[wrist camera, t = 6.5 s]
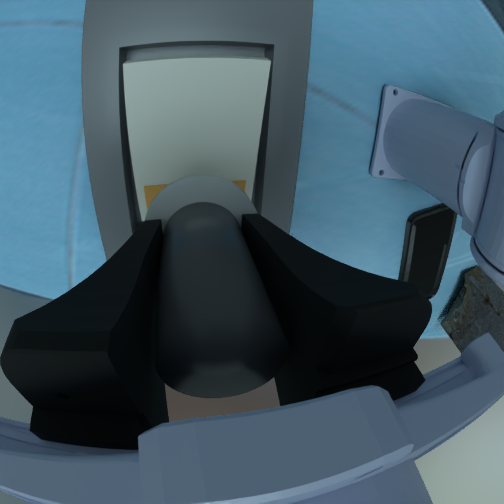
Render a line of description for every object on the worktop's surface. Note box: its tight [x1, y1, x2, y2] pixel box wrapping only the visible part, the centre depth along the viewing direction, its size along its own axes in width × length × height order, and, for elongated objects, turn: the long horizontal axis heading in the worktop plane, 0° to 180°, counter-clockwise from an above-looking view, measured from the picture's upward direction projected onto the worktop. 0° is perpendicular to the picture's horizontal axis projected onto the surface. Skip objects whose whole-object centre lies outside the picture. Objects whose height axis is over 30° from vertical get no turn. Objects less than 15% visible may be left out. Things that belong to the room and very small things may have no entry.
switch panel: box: [82, 0, 313, 261], centre depth 16 cm, size 14×20×4 cm
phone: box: [398, 203, 457, 299], centre depth 30 cm, size 8×1×15 cm
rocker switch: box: [123, 55, 271, 221], centre depth 15 cm, size 7×10×1 cm
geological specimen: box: [441, 266, 504, 354], centre depth 31 cm, size 11×6×15 cm, turn 1°
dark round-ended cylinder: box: [144, 174, 289, 398], centre depth 10 cm, size 5×5×9 cm
